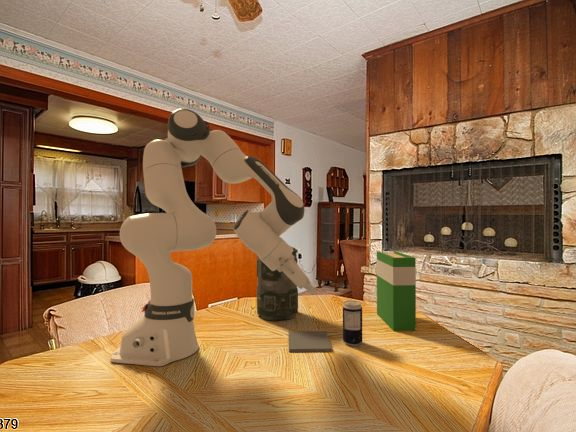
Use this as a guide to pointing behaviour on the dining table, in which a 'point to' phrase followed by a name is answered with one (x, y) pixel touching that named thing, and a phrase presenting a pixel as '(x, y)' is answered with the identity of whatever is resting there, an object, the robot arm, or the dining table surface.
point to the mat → (308, 341)
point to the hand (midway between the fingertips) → (312, 288)
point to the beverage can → (352, 323)
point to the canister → (276, 293)
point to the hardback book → (396, 290)
